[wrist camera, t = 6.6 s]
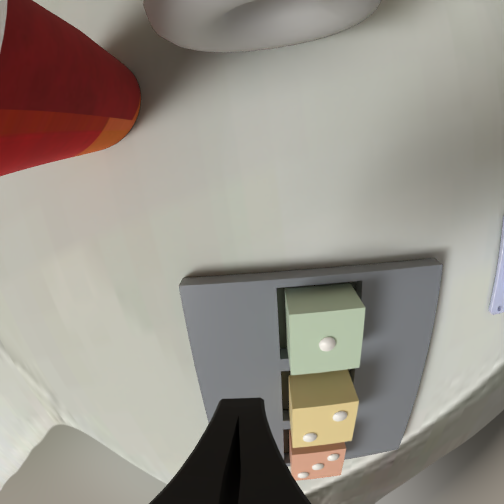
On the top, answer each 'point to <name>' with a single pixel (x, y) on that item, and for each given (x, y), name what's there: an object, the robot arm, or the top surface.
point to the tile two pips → (322, 408)
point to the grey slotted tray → (276, 360)
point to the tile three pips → (316, 460)
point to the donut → (252, 22)
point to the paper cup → (57, 90)
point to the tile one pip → (323, 328)
